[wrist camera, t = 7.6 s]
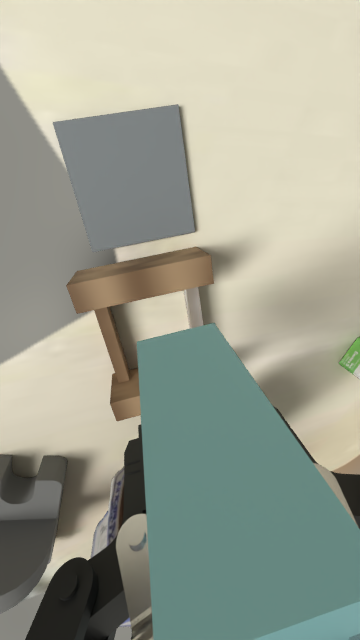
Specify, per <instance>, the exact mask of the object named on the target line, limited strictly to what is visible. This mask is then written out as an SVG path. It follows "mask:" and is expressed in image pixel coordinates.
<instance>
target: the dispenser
mask: <svg viewBox="0 0 360 640" xmlns="http://www.w3.org/2000/svg"><path fill="white" fill-rule="evenodd" d="M209 284H214V280H213V271H212V262H211V255H209V254H208V253H206V252H204V251H202V250H201V249H199V248H197V247H193V248H188V249H183V250H178V251H173V252H169V253H164V254H159V255H154V256H149V257H144V258H139V259H134V260H129V261H124V262H120V263H115V264H110V265H105V266H100V267H95V268H90V269H85V270H81V271H77V272H76V273H75V275H74V276H73V277H72V279H71V280H70V281H69V283H68V284H67V285H66V286H67V289H68V291H69V294H70V297H71V299H72V302H73V305H74V308H75V310H76V313H77V314H78V313H83V312H87V311H92V310H94V311H95V314H96V317H97V320H98V323H99V326H100V329H101V332H102V335H103V338H104V341H105V344H106V347H107V350H108V353H109V355H110V358H111V361H112V364H113V367H114V370H115V374H112V386H111V398H110V405H111V407H112V410H113V413H114V415H115V418H116V421H120V420H124V419H127V418H131V417H135V416H139V415H141V409H140V391H139V373H138V368H135V369H131V370H129V368H128V364H127V361H126V358H125V355H124V351H123V348H122V345H121V342H120V338H119V335H118V332H117V328H116V325H115V322H114V319H113V315H112V312H111V309H110V306H114V305H119V304H123V303H128V302H132V301H137V300H141V299H146V298H150V297H155V296H159V295H164V294H168V293H173V292H177V291H182V290H184V296H185V302H186V308H187V314H188V320H189V326H190V329H191V328H195V327H199V326H203V319H202V312H201V304H200V297H199V290H198V287H200V286H204V285H209Z"/></svg>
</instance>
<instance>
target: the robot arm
mask: <svg viewBox="0 0 360 640" xmlns="http://www.w3.org/2000/svg"><path fill="white" fill-rule="evenodd" d="M273 407H274V406H273ZM274 409H275V410H276V411H277V413H278V414H279V416H280V417H281V418H282V420H283V421H284V423H285V424H286V426H287V427H288V428H289V430H290V431H291V433H292V434H293V436H294V437H295V438H296V440H297V441H298V443H299V444H300V445H301V447H302V448H303V450H304V451H305V453H306V454H307V455H308V457H309V458H310V460H311V461H312V462H313V464H314V465H315V467H316V468H317V470H318V471H319V472H320V474H321V475H322V477H323V478H324V479H325V481H326V482H327V484H328V485H329V487H330V488H331V489H332V491H333V492H334V494H335V495H336V496H337V498H338V499H339V501H340V502H341V504H342V505H343V506H344V508H345V509H346V511H347V512H348V513H349V515H350V516H351V518H352V519H353V521H354V522H355V523H356V525H357V526H358V528H359V529H360V475H354V474H339V473H334V472H332V471H329V470H328V469H326V468H325V467H323V466H321V465H319V464H318V463H317V462H316V461H315V460H314V459H313V458H312V456H311V455H310V453H309V452H308V451H307V449H306V448H305V446H304V445H303V444H302V442H301V441H300V440H299V438H298V437H297V435H296V434H295V433H294V431H293V430H292V428H290V426H289V424H288V423H287V421H285V419H284V417H283V416H282V414H281V413H280V412H279V410H278V409H277V408H275V407H274ZM138 429H139V438H137V439H134V440H130V441H129V443H128V445H127V448H126V450H125V452H124V465H125V467H124V511H123V522H122V525H121V528H120V530H119V532H118V534H117V536H116V537H115V539H114V540H113V541H112V542H111V543H110V544H109V545H108V546H107V547H106V548H104V549H103V550H102V551H100V552H99V553H98V554H96V555H95V556H93V557H92V558H91V559H89V560H88V561H87V560H86V559H84V558H81V557H77V558H73V559H71V560H69V561H67V562H66V563H64V564H63V565H62V566H61V567H60V568H59V569H58V570H57V572H56V573H55V574H54V576H53V578H52V579H51V581H50V583H49V586H48V588H47V590H46V592H45V595H44V597H43V599H42V602H41V604H40V606H39V609H38V611H37V613H36V616H35V618H34V620H33V623H32V625H31V627H30V630H29V632H28V634H27V637H26V639H25V640H114V637H115V633H116V629H117V628H118V627H119V626H120V625H121V624H122V623H124V622H125V621H126V620H127V619H128V618H130V623H131V629H132V637H131V640H153V622H152V605H151V587H150V569H149V551H148V533H147V516H146V498H145V480H144V462H143V444H142V426H141V425H139V427H138ZM349 640H360V634H357V635H355V636H352V637H349Z"/></svg>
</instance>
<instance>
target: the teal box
mask: <svg viewBox="0 0 360 640" xmlns="http://www.w3.org/2000/svg"><path fill="white" fill-rule="evenodd" d="M137 355H138V373H139V391H140V409H141V426H142V444H143V462H144V480H145V498H146V516H147V533H148V551H149V569H150V587H151V605H152V622H153V640H349V637H352V636H355V635H357V634H360V529H359V528H358V526H357V525H356V523H355V522H354V521H353V519H352V518H351V516H350V515H349V513H348V512H347V511H346V509H345V508H344V506H343V505H342V504H341V502H340V501H339V499H338V498H337V496H336V495H335V494H334V492H333V491H332V489H331V488H330V487H329V485H328V484H327V482H326V481H325V479H324V478H323V477H322V475H321V474H320V472H319V471H318V470H317V468H316V467H315V465H314V464H313V462H312V461H311V460H310V458H309V457H308V455H307V454H306V453H305V451H304V450H303V448H302V447H301V445H300V444H299V443H298V441H297V440H296V438H295V437H294V436H293V434H292V433H291V431H290V430H289V428H288V427H287V426H286V424H285V423H284V421H283V420H282V418H281V417H280V416H279V414H278V413H277V411H276V410H275V409H274V407H273V406H272V404H271V403H270V401H269V400H268V399H267V397H266V396H265V394H264V393H263V392H262V390H261V389H260V387H259V386H258V384H257V383H256V382H255V380H254V379H253V377H252V376H251V375H250V373H249V372H248V370H247V369H246V367H245V366H244V365H243V363H242V362H241V360H240V359H239V358H238V356H237V355H236V353H235V352H234V350H233V349H232V348H231V346H230V345H229V343H228V342H227V341H226V339H225V338H224V336H223V335H222V333H221V332H220V331H219V329H218V328H217V326H216V325H215V323H211V324H207V325H203V326H199V327H195V328H191V329H187V330H183V331H179V332H175V333H171V334H167V335H163V336H159V337H155V338H150V339H146V340H142V341H138V342H137Z"/></svg>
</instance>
